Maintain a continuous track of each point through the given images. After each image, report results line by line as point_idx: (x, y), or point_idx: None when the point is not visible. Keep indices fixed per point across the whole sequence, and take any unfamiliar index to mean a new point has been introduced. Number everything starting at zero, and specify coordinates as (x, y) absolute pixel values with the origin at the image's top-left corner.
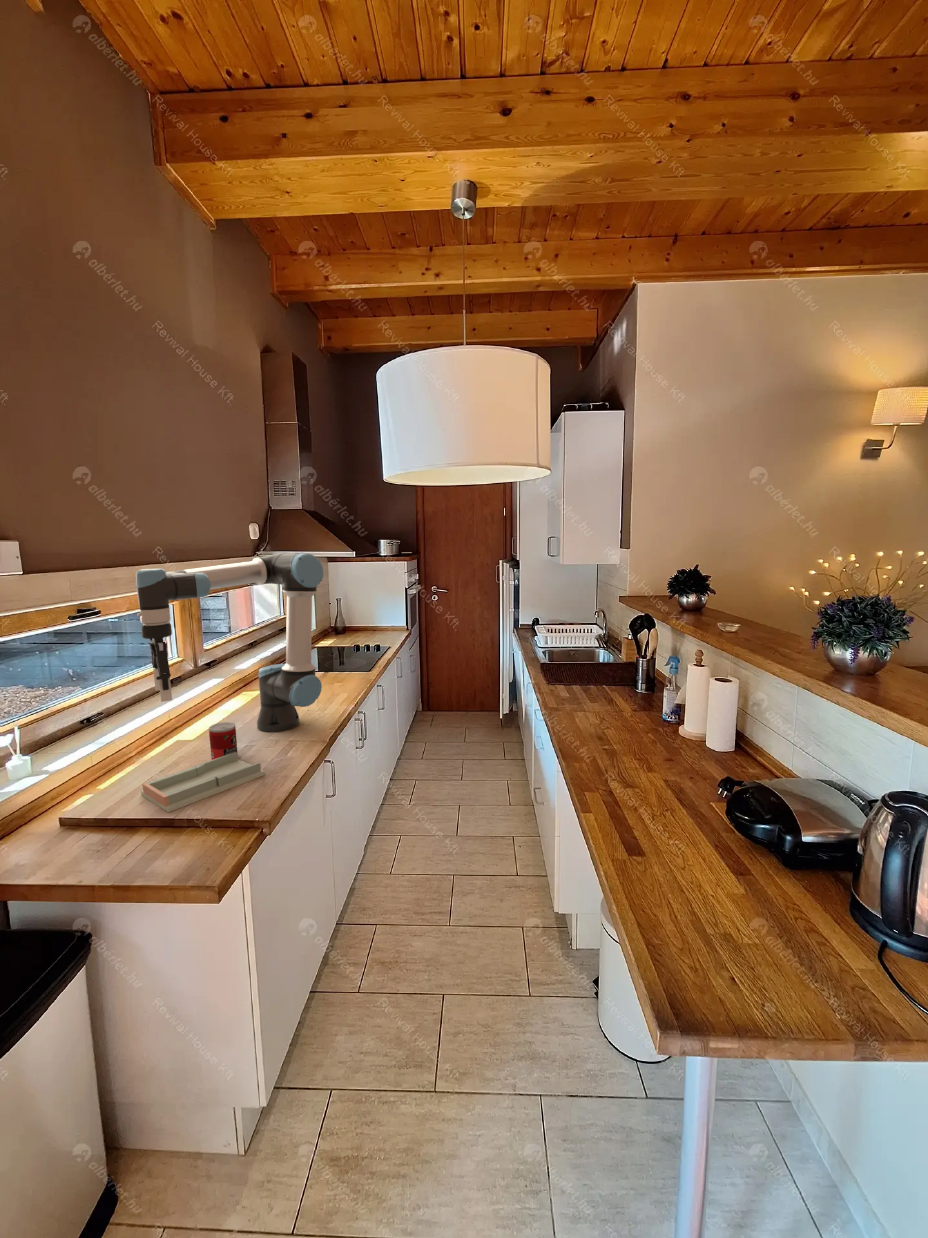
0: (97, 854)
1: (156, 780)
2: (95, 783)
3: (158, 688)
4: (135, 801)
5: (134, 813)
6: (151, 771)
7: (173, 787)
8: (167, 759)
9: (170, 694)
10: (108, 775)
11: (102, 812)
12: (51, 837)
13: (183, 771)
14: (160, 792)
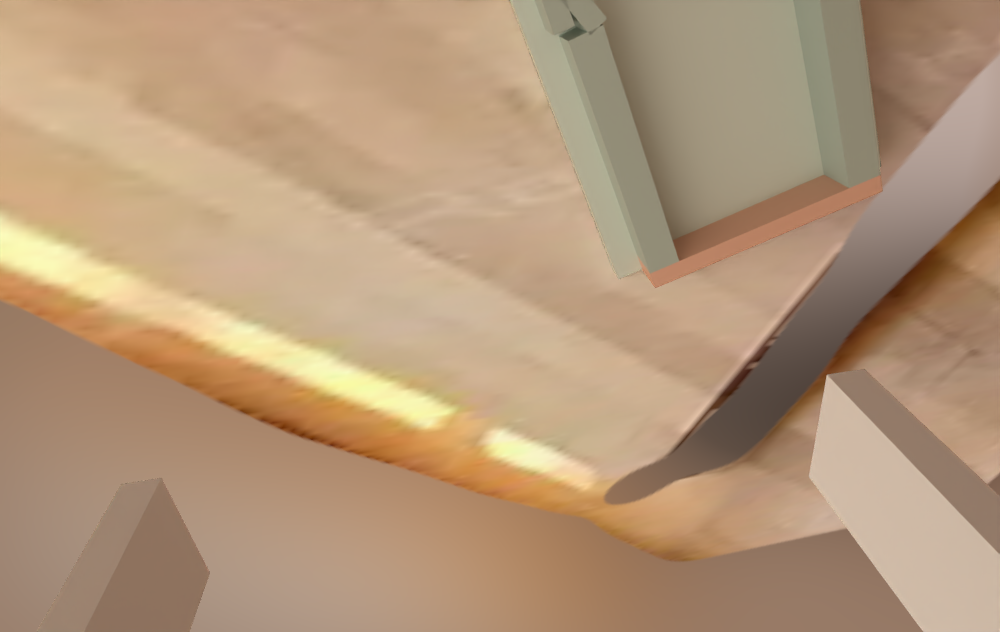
0: (993, 353)
1: (653, 232)
2: (378, 440)
3: (185, 571)
4: (663, 287)
5: (777, 281)
6: (333, 248)
7: (669, 144)
8: (172, 178)
9: (917, 437)
10: (305, 410)
11: (688, 380)
12: (774, 477)
13: (611, 100)
14: (815, 208)
